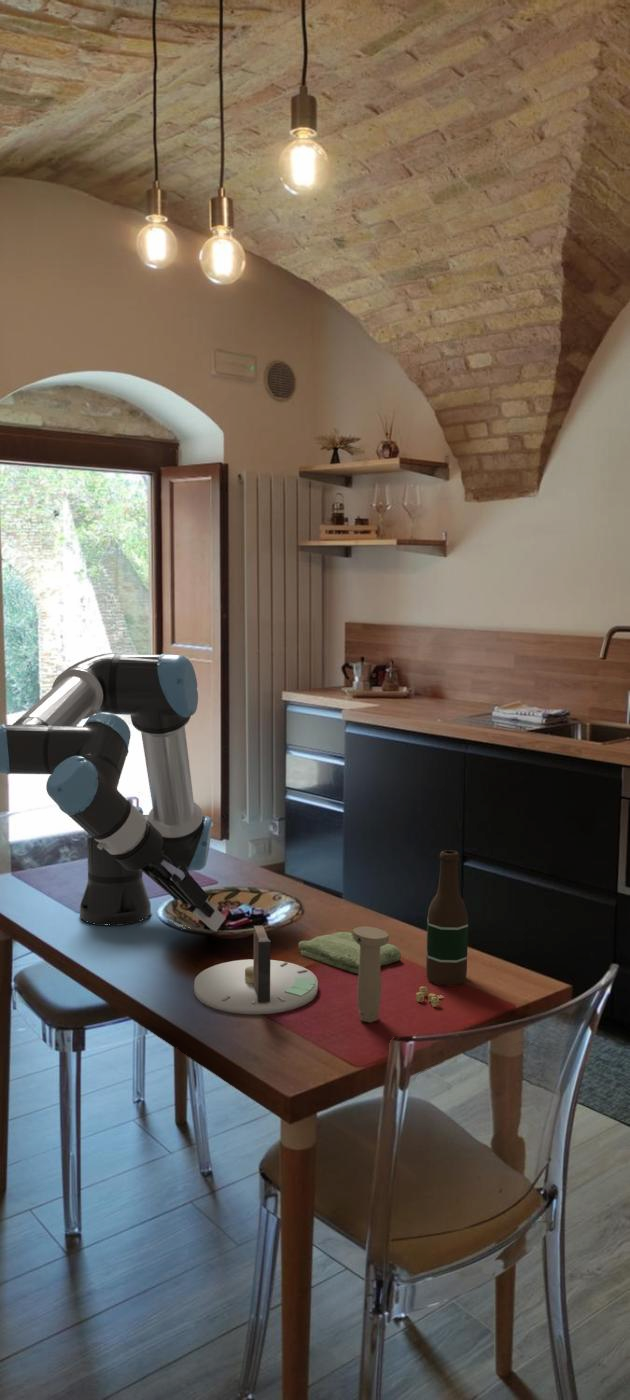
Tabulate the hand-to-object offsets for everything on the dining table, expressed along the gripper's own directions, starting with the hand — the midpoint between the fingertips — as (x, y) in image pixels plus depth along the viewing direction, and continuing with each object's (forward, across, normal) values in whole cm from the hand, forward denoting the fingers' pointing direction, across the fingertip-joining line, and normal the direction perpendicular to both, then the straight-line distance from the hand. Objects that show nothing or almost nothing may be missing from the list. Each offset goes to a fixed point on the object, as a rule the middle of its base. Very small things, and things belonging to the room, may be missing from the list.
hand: (218, 923), depth 172 cm
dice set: (+37, +15, +12) cm, 41 cm away
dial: (+21, -8, -2) cm, 23 cm away
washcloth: (+39, -10, +15) cm, 43 cm away
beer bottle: (+43, +10, +20) cm, 48 cm away
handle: (+27, +14, +2) cm, 30 cm away
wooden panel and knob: (+19, -4, -2) cm, 19 cm away
